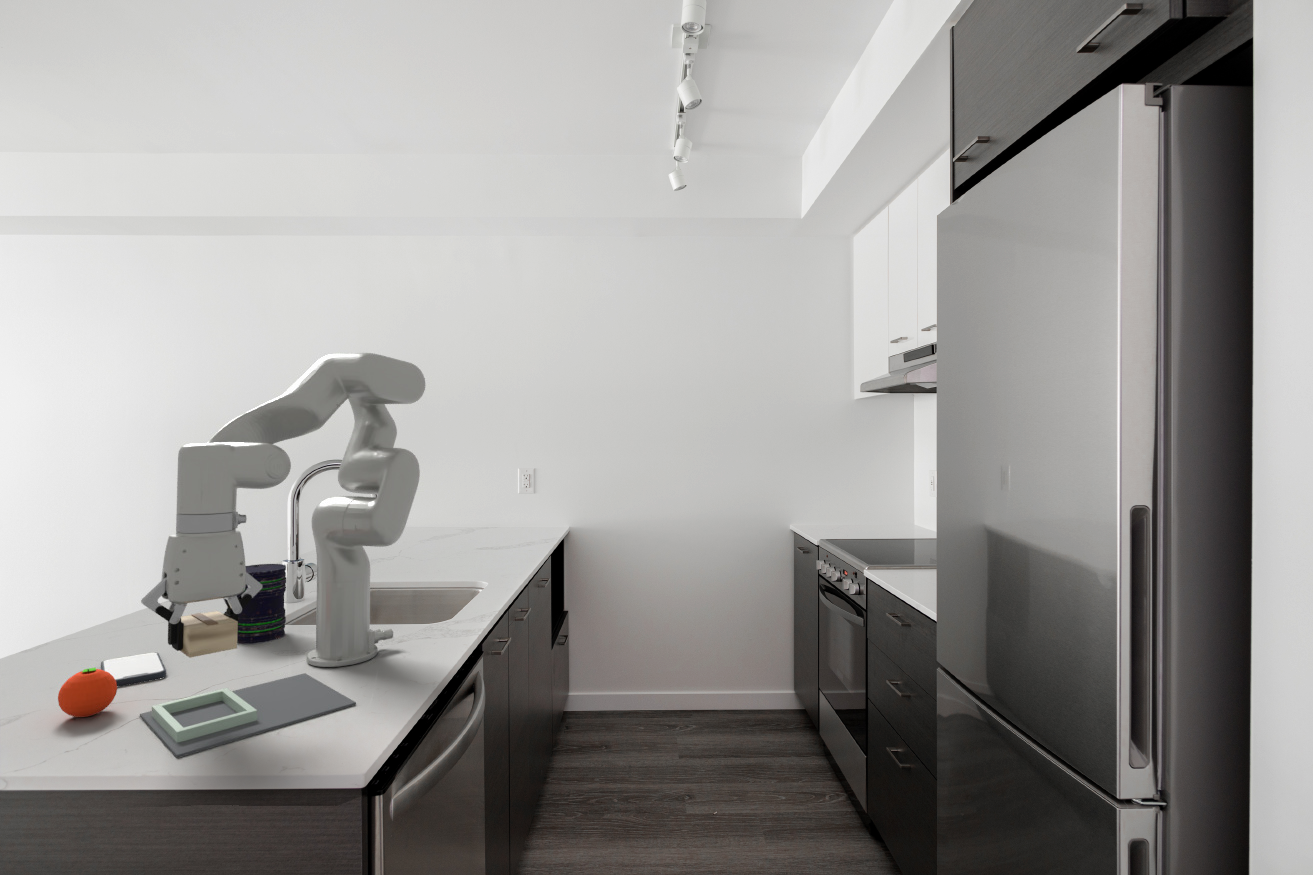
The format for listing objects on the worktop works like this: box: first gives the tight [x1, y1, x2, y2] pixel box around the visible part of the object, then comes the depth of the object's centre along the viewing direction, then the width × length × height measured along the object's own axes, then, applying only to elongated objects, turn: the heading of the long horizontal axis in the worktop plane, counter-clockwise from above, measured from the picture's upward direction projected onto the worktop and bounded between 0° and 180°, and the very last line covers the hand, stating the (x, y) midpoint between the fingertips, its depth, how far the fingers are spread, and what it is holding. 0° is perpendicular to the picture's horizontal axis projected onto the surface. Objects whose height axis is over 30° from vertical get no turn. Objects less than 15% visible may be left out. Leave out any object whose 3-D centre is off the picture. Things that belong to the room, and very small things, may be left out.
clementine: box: [57, 667, 118, 718], centre depth 101 cm, size 8×7×7 cm
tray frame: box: [151, 687, 257, 743], centre depth 99 cm, size 10×14×2 cm
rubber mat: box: [139, 672, 357, 759], centre depth 103 cm, size 24×20×1 cm
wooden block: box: [180, 610, 238, 659], centre depth 99 cm, size 10×6×4 cm, turn 49°
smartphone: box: [100, 652, 167, 687], centre depth 120 cm, size 9×2×16 cm
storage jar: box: [236, 563, 287, 645], centre depth 142 cm, size 10×10×15 cm
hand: (203, 642), depth 99 cm, fingers closed on wooden block, 6 cm apart
